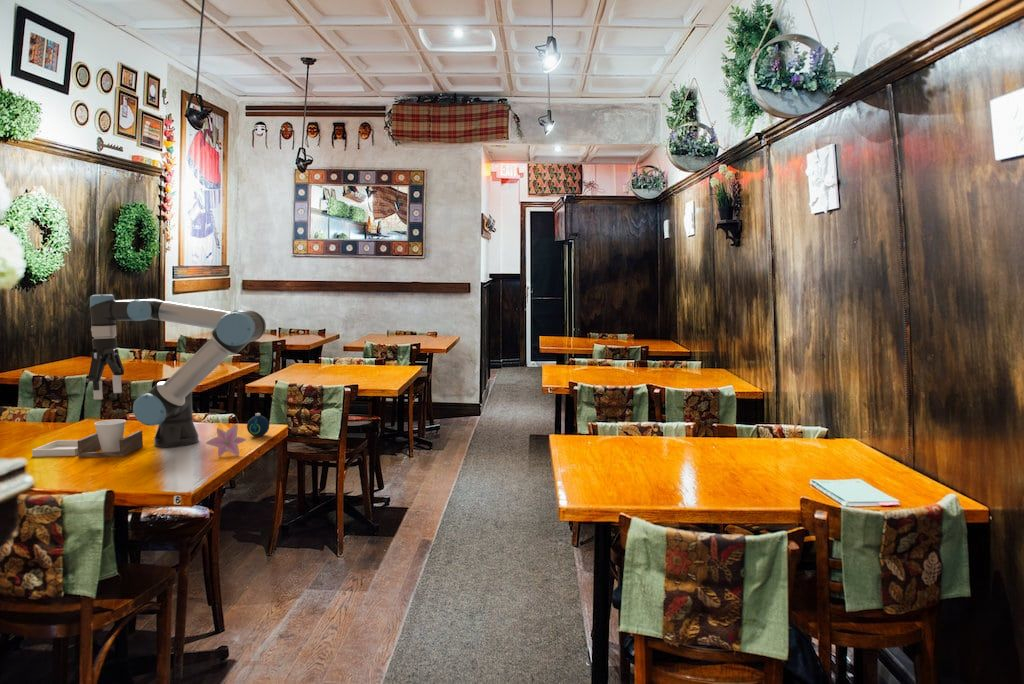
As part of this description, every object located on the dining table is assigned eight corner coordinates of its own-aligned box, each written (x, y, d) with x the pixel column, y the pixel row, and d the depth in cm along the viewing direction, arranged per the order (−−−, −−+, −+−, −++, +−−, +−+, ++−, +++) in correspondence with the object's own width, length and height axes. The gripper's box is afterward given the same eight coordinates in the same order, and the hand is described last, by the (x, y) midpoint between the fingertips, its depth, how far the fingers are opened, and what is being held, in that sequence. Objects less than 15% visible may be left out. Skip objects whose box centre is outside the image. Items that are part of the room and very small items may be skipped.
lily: (201, 458, 233) (203, 438, 228) (219, 439, 243) (220, 419, 238) (234, 469, 233) (236, 449, 228) (249, 449, 243) (252, 429, 239)
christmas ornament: (242, 437, 260) (241, 412, 259) (257, 433, 268) (256, 409, 267) (259, 439, 257) (258, 414, 257) (274, 434, 265) (273, 410, 264)
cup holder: (142, 446, 246) (142, 430, 245) (123, 456, 231) (122, 439, 230) (100, 446, 244) (100, 431, 244) (78, 457, 229) (77, 440, 229)
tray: (96, 445, 246) (96, 439, 245) (75, 455, 232) (74, 449, 231) (56, 446, 244) (56, 440, 244) (32, 456, 230) (32, 449, 230)
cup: (112, 455, 232) (111, 425, 231) (88, 454, 234) (87, 424, 233) (133, 449, 241) (132, 419, 240) (110, 447, 243) (109, 418, 242)
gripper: (111, 335, 246) (114, 390, 248) (73, 340, 221) (78, 402, 223) (132, 334, 246) (135, 390, 248) (96, 340, 222) (101, 401, 224)
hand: (108, 396), depth 236 cm, fingers open, 13 cm apart
